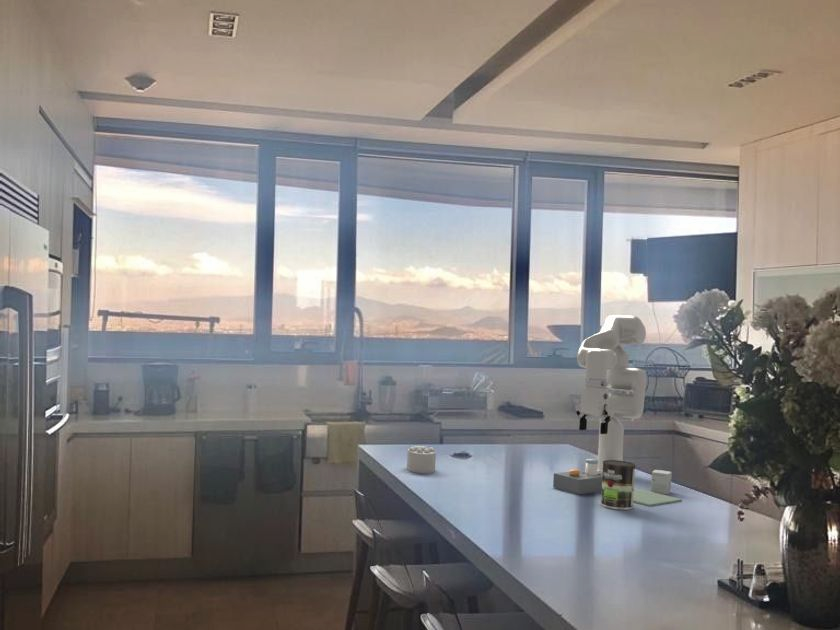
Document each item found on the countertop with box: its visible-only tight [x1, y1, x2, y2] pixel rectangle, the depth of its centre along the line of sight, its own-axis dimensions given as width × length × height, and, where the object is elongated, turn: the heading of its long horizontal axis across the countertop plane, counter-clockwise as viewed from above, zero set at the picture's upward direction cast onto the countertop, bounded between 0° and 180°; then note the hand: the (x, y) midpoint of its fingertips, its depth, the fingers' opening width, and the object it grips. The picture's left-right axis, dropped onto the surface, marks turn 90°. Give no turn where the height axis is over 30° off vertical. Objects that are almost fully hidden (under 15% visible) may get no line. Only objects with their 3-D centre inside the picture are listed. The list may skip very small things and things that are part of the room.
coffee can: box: [600, 460, 636, 511], centre depth 267 cm, size 10×10×14 cm
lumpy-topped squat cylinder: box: [406, 445, 437, 474], centre depth 313 cm, size 10×13×9 cm
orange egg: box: [568, 468, 581, 477], centre depth 290 cm, size 4×4×6 cm
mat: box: [633, 488, 683, 507], centre depth 282 cm, size 18×18×1 cm
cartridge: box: [584, 458, 598, 476], centre depth 296 cm, size 4×4×10 cm
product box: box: [650, 469, 673, 495], centre depth 295 cm, size 6×6×7 cm
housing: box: [552, 469, 603, 495], centre depth 293 cm, size 18×12×5 cm, turn 127°
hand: (593, 431), depth 296 cm, fingers open, 9 cm apart
